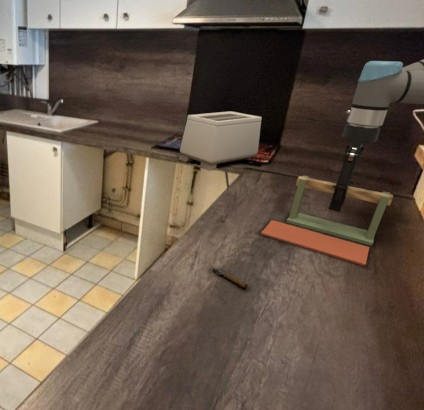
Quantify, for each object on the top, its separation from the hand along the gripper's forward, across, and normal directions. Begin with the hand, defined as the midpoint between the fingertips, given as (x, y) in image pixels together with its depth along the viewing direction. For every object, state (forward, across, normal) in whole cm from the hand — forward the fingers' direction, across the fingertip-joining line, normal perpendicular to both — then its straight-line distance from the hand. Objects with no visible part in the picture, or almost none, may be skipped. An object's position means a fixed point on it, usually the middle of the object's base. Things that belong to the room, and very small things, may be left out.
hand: (335, 207), depth 102 cm
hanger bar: (-4, 0, 0) cm, 4 cm away
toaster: (+7, -48, -51) cm, 70 cm away
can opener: (+7, +45, -13) cm, 47 cm away
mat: (+7, +12, -2) cm, 14 cm away
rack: (+7, 0, 0) cm, 7 cm away
